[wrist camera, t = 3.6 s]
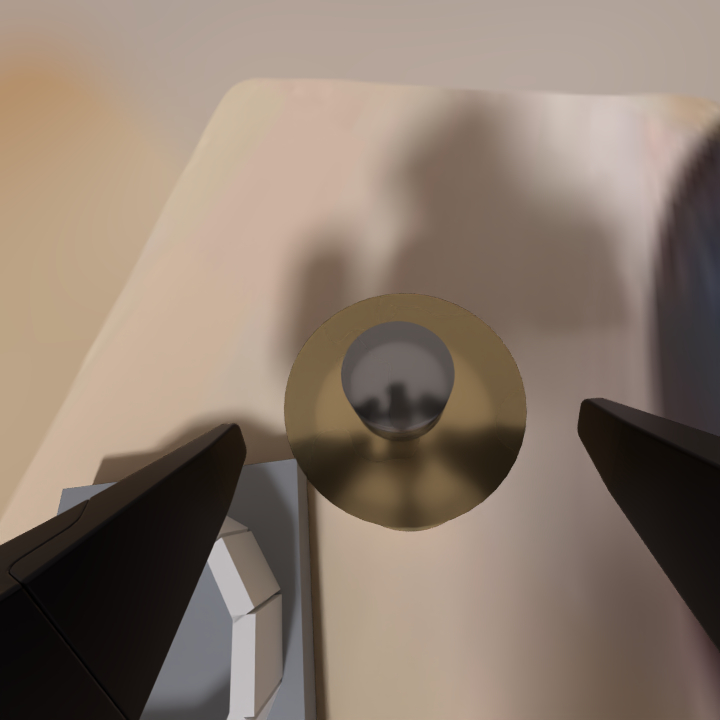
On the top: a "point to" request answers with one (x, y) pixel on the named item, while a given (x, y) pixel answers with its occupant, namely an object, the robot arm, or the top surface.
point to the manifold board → (212, 618)
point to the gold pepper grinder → (405, 411)
